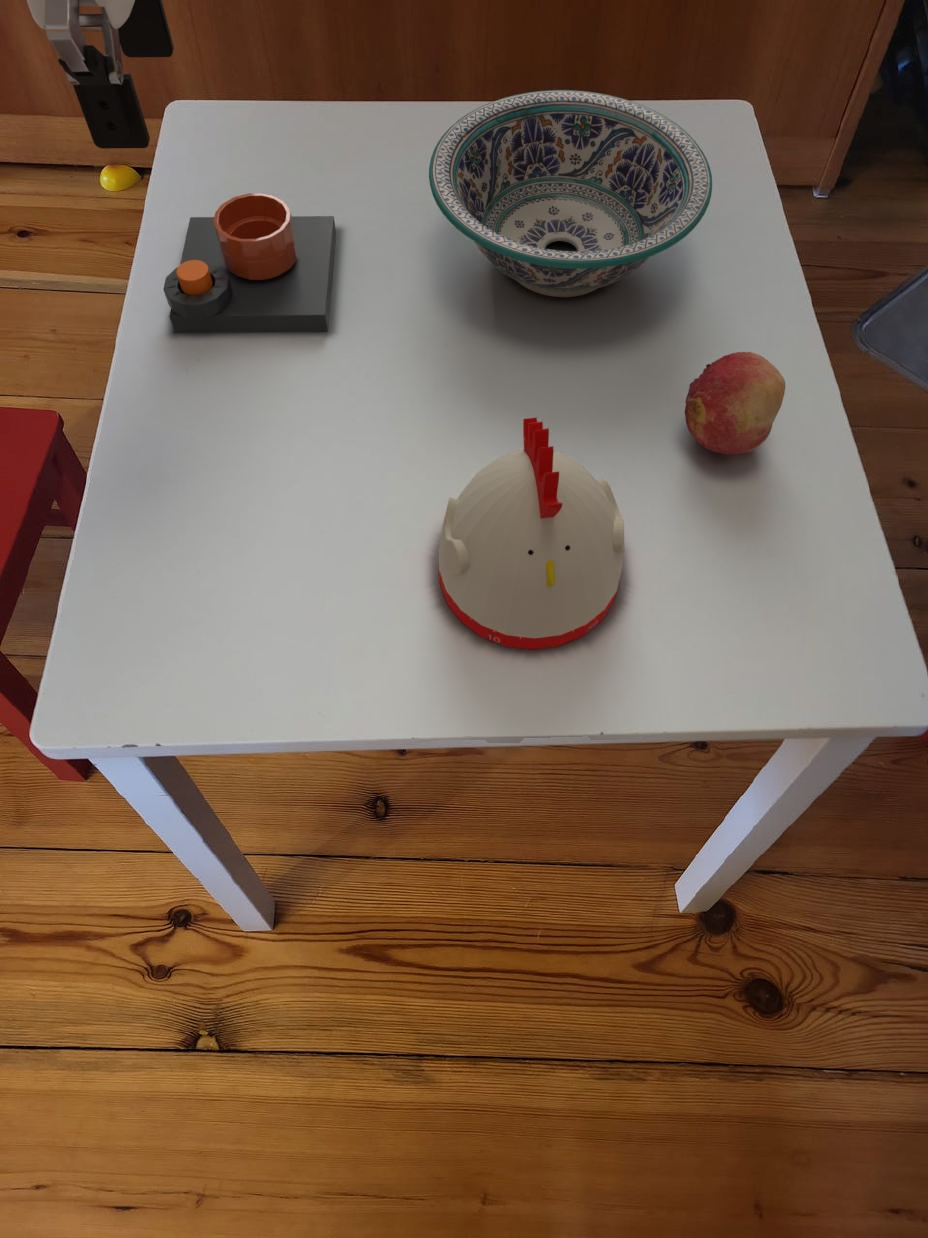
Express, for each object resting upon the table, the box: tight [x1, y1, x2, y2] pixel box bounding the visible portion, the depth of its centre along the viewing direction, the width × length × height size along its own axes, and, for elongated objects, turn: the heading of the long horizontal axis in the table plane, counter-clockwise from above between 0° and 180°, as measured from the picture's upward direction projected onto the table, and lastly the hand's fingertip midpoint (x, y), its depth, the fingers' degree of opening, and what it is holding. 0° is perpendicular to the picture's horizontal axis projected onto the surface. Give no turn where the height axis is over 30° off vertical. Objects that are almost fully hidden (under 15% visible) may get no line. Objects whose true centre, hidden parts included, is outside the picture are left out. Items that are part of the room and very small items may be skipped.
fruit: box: [684, 351, 786, 456], centre depth 73 cm, size 8×8×8 cm
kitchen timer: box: [438, 417, 625, 650], centre depth 64 cm, size 14×14×15 cm
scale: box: [163, 215, 337, 334], centre depth 85 cm, size 14×14×4 cm
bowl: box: [428, 89, 713, 298], centre depth 84 cm, size 25×25×10 cm
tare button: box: [176, 260, 213, 296], centre depth 81 cm, size 3×3×2 cm
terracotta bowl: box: [213, 192, 298, 280], centre depth 83 cm, size 7×7×5 cm
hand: (137, 98), depth 56 cm, fingers open, 9 cm apart
